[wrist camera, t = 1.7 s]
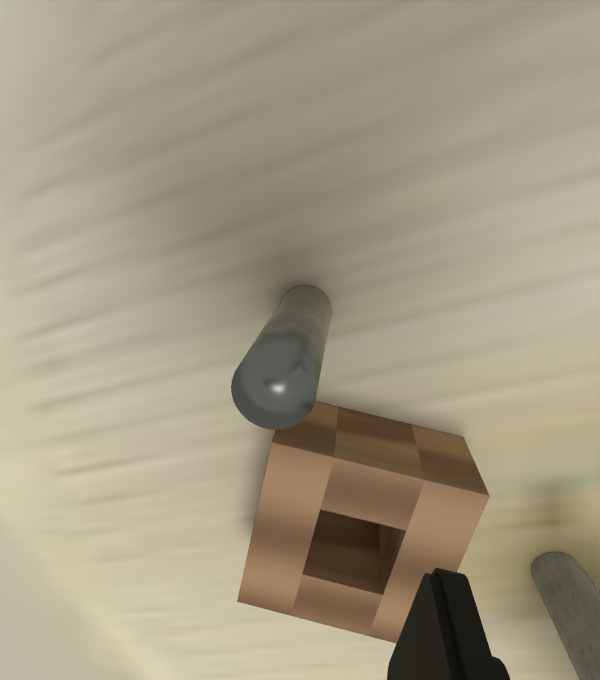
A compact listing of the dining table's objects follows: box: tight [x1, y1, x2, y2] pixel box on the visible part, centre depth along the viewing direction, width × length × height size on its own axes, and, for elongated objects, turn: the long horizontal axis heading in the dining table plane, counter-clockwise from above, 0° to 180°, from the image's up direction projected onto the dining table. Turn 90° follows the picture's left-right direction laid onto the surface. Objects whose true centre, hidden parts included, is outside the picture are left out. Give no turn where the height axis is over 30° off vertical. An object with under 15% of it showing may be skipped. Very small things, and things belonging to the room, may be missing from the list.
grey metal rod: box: [231, 285, 331, 430], centre depth 22 cm, size 3×3×12 cm
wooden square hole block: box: [237, 401, 489, 643], centre depth 29 cm, size 12×12×6 cm
